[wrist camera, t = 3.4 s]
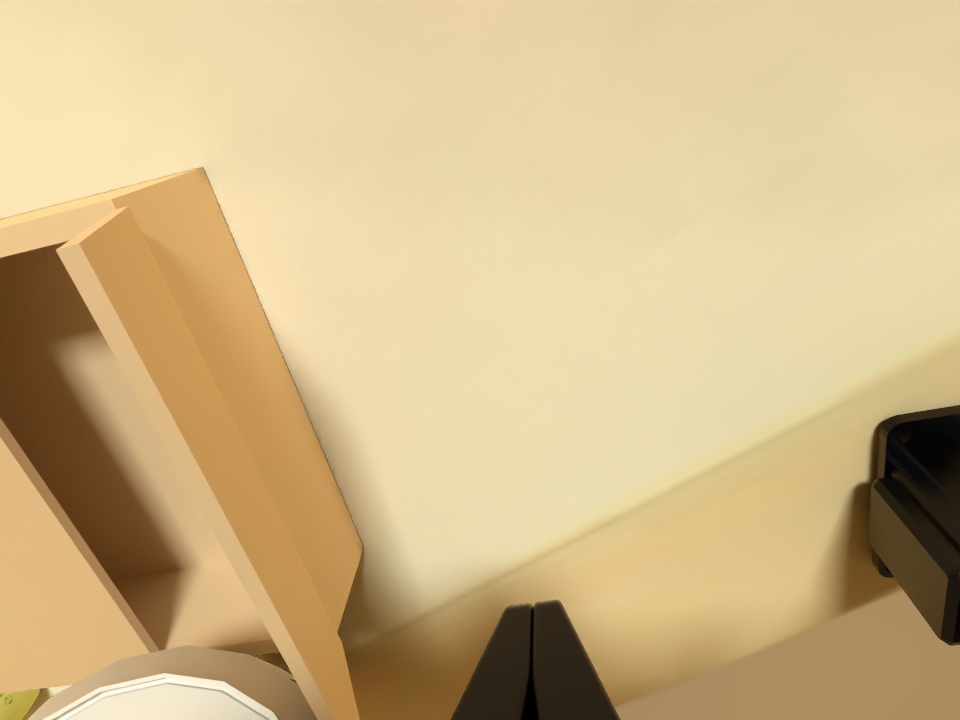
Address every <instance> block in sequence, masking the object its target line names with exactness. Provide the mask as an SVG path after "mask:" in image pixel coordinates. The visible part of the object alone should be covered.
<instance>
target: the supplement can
mask: <svg viewBox="0 0 960 720" xmlns="http://www.w3.org/2000/svg"><path fill="white" fill-rule="evenodd" d="M27 720H317V718H316V716H315V714H314V712H313V711H312V709H311V707H310V705H309V703H308V702H307V700H306V698H305V696H304V694H303V693H302V691H301V689H300V687H299V685H298V684H297V682H296V680H295V678H294V677H293V675H292V673H291V672H290V671H287V670H285V669H282V668H280V667H278V666H275V665H273V664H270V663H268V662H266V661H263V660H261V659H259V658H256V657H254V656H251V655H249V654H243V653H236V652H230V651H223V650H216V649H209V648H203V647H196V646H189V645H185V646H180V647H175V648H171V649H166V650H161V651H157V652H152V653H147V654H142V655H138V656H133V657H128V658H124V659H119V660H117V661H115V662H113V663H111V664H110V665H108V666H106V667H104V668H102V669H101V670H99V671H97V672H95V673H94V674H92V675H90V676H88V677H86V678H85V679H83V680H81V681H79V682H77V683H76V684H74V685H72V686H70V687H69V688H67V689H65V690H63V691H61V692H60V693H58V694H56V695H54V696H52V697H51V698H49V699H48V700H47V701H46V702H45V703H44V704H43V705H42V706H41V707H40V708H39V709H37V710H36V711H35V712H34V713H33V714H32V715H31V716H30V717H29V718H28V719H27Z"/></svg>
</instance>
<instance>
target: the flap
mask: <svg viewBox="0 0 960 720" xmlns="http://www.w3.org/2000/svg"><path fill="white" fill-rule="evenodd" d="M56 252H57V253H58V255H59V257H60V259H61V261H62V262H63V264H64V266H65V268H66V270H67V271H68V273H69V275H70V277H71V278H72V280H73V282H74V284H75V286H76V287H77V289H78V291H79V293H80V295H81V296H82V298H83V300H84V302H85V304H86V305H87V307H88V309H89V311H90V313H91V314H92V316H93V318H94V320H95V322H96V323H97V325H98V327H99V329H100V330H101V332H102V334H103V336H104V338H105V339H106V341H107V343H108V345H109V347H110V348H111V350H112V352H113V354H114V356H115V357H116V359H117V361H118V363H119V365H120V366H121V368H122V370H123V372H124V374H125V375H126V377H127V379H128V381H129V382H130V384H131V386H132V388H133V390H134V391H135V393H136V395H137V397H138V399H139V400H140V402H141V404H142V406H143V408H144V409H145V411H146V413H147V415H148V417H149V418H150V420H151V422H152V424H153V426H154V427H155V429H156V431H157V433H158V434H159V436H160V438H161V440H162V442H163V443H164V445H165V447H166V449H167V451H168V452H169V454H170V456H171V458H172V460H173V461H174V463H175V465H176V467H177V469H178V470H179V472H180V474H181V476H182V477H183V479H184V481H185V483H186V485H187V486H188V488H189V490H190V492H191V494H192V495H193V497H194V499H195V501H196V503H197V504H198V506H199V508H200V510H201V512H202V513H203V515H204V517H205V519H206V521H207V522H208V524H209V526H210V528H211V529H212V531H213V533H214V535H215V537H216V538H217V540H218V542H219V544H220V546H221V547H222V549H223V551H224V553H225V555H226V556H227V558H228V560H229V562H230V564H231V565H232V567H233V569H234V571H235V573H236V574H237V576H238V578H239V580H240V581H241V583H242V585H243V587H244V589H245V590H246V592H247V594H248V596H249V598H250V599H251V601H252V603H253V605H254V607H255V608H256V610H257V612H258V614H259V616H260V617H261V619H262V621H263V623H264V625H265V626H266V628H267V630H268V632H269V633H270V635H271V637H272V639H273V641H274V642H275V644H276V646H277V648H278V650H279V651H280V653H281V655H282V657H283V659H284V660H285V662H286V664H287V666H288V668H289V669H290V671H291V673H292V675H293V677H294V678H295V680H296V682H297V684H298V685H299V687H300V689H301V691H302V693H303V694H304V696H305V698H306V700H307V702H308V703H309V705H310V707H311V709H312V711H313V712H314V714H315V716H316V718H317V720H360V718H359V714H358V709H357V705H356V701H355V696H354V692H353V688H352V683H351V679H350V675H349V670H348V666H347V662H346V657H345V653H344V649H343V644H342V642H341V640H340V638H339V636H338V633H337V631H336V629H335V627H334V625H333V623H332V621H331V619H330V617H329V615H328V613H327V611H326V609H325V607H324V605H323V603H322V601H321V599H320V597H319V595H318V592H317V590H316V588H315V586H314V584H313V582H312V580H311V578H310V576H309V574H308V572H307V570H306V568H305V566H304V564H303V562H302V560H301V558H300V556H299V554H298V551H297V549H296V547H295V545H294V543H293V541H292V539H291V537H290V535H289V533H288V531H287V529H286V527H285V525H284V523H283V521H282V519H281V517H280V515H279V513H278V510H277V508H276V506H275V504H274V502H273V500H272V498H271V496H270V494H269V492H268V490H267V488H266V486H265V484H264V482H263V480H262V478H261V476H260V474H259V472H258V469H257V467H256V465H255V463H254V461H253V459H252V457H251V455H250V453H249V451H248V449H247V447H246V445H245V443H244V441H243V439H242V437H241V435H240V433H239V431H238V428H237V426H236V424H235V422H234V420H233V418H232V416H231V414H230V412H229V410H228V408H227V406H226V404H225V402H224V400H223V398H222V396H221V394H220V392H219V390H218V387H217V385H216V383H215V381H214V379H213V377H212V375H211V373H210V371H209V369H208V367H207V365H206V363H205V361H204V359H203V357H202V355H201V353H200V351H199V349H198V346H197V344H196V342H195V340H194V338H193V336H192V334H191V332H190V330H189V328H188V326H187V324H186V322H185V320H184V318H183V316H182V314H181V312H180V310H179V308H178V305H177V303H176V301H175V299H174V297H173V295H172V293H171V291H170V289H169V287H168V285H167V283H166V281H165V279H164V277H163V275H162V273H161V271H160V269H159V267H158V264H157V262H156V260H155V258H154V256H153V254H152V252H151V250H150V248H149V246H148V244H147V242H146V240H145V238H144V236H143V234H142V232H141V230H140V228H139V226H138V223H137V221H136V219H135V217H134V215H133V213H132V211H131V209H130V207H129V206H127V207H123V208H120V209H116V210H113V211H112V212H110V213H109V214H108V215H106V216H105V217H103V218H102V219H100V220H99V221H97V222H96V223H94V224H93V225H91V226H90V227H89V228H87V229H86V230H84V231H83V232H81V233H80V234H78V235H77V236H75V237H74V238H73V239H71V240H70V241H68V242H67V243H65V244H64V245H62V246H61V247H59V248H58V249H56Z"/></svg>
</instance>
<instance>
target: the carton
mask: <svg viewBox="0 0 960 720" xmlns="http://www.w3.org/2000/svg"><path fill="white" fill-rule="evenodd" d="M127 206H129V207H130V209H131V211H132V213H133V215H134V217H135V219H136V221H137V223H138V226H139V228H140V230H141V232H142V234H143V236H144V238H145V240H146V242H147V244H148V246H149V248H150V250H151V252H152V254H153V256H154V258H155V260H156V262H157V264H158V267H159V269H160V271H161V273H162V275H163V277H164V279H165V281H166V283H167V285H168V287H169V289H170V291H171V293H172V295H173V297H174V299H175V301H176V303H177V305H178V308H179V310H180V312H181V314H182V316H183V318H184V320H185V322H186V324H187V326H188V328H189V330H190V332H191V334H192V336H193V338H194V340H195V342H196V344H197V346H198V349H199V351H200V353H201V355H202V357H203V359H204V361H205V363H206V365H207V367H208V369H209V371H210V373H211V375H212V377H213V379H214V381H215V383H216V385H217V387H218V390H219V392H220V394H221V396H222V398H223V400H224V402H225V404H226V406H227V408H228V410H229V412H230V414H231V416H232V418H233V420H234V422H235V424H236V426H237V428H238V431H239V433H240V435H241V437H242V439H243V441H244V443H245V445H246V447H247V449H248V451H249V453H250V455H251V457H252V459H253V461H254V463H255V465H256V467H257V469H258V472H259V474H260V476H261V478H262V480H263V482H264V484H265V486H266V488H267V490H268V492H269V494H270V496H271V498H272V500H273V502H274V504H275V506H276V508H277V510H278V513H279V515H280V517H281V519H282V521H283V523H284V525H285V527H286V529H287V531H288V533H289V535H290V537H291V539H292V541H293V543H294V545H295V547H296V549H297V551H298V554H299V556H300V558H301V560H302V562H303V564H304V566H305V568H306V570H307V572H308V574H309V576H310V578H311V580H312V582H313V584H314V586H315V588H316V590H317V592H318V595H319V597H320V599H321V601H322V603H323V605H324V607H325V609H326V611H327V613H328V615H329V617H330V619H331V621H332V623H333V625H334V627H335V629H336V631H337V632H338V629H339V625H340V622H341V619H342V616H343V613H344V609H345V606H346V603H347V600H348V596H349V593H350V590H351V587H352V583H353V580H354V577H355V574H356V570H357V567H358V564H359V561H360V558H361V554H362V551H363V548H364V547H363V545H362V542H361V540H360V538H359V535H358V533H357V530H356V528H355V526H354V523H353V521H352V519H351V516H350V514H349V512H348V509H347V507H346V504H345V502H344V500H343V497H342V495H341V493H340V490H339V488H338V486H337V483H336V481H335V478H334V476H333V474H332V471H331V469H330V467H329V464H328V462H327V460H326V457H325V455H324V453H323V450H322V448H321V445H320V443H319V441H318V438H317V436H316V434H315V431H314V429H313V427H312V424H311V422H310V419H309V417H308V415H307V412H306V410H305V408H304V405H303V403H302V401H301V398H300V396H299V393H298V391H297V389H296V386H295V384H294V382H293V379H292V377H291V375H290V372H289V370H288V367H287V365H286V363H285V360H284V358H283V356H282V353H281V351H280V349H279V346H278V344H277V342H276V339H275V337H274V334H273V332H272V330H271V327H270V325H269V323H268V320H267V318H266V316H265V313H264V311H263V308H262V306H261V304H260V301H259V299H258V297H257V294H256V292H255V290H254V287H253V285H252V282H251V280H250V278H249V275H248V273H247V271H246V268H245V266H244V264H243V261H242V259H241V256H240V254H239V252H238V249H237V247H236V245H235V242H234V240H233V238H232V235H231V233H230V231H229V228H228V226H227V223H226V221H225V219H224V216H223V214H222V212H221V209H220V207H219V205H218V202H217V200H216V197H215V195H214V193H213V190H212V188H211V186H210V183H209V181H208V179H207V176H206V174H205V171H204V169H203V167H201V168H197V169H194V170H190V171H186V172H182V173H178V174H174V175H170V176H166V177H163V178H159V179H155V180H151V181H147V182H143V183H139V184H136V185H132V186H128V187H124V188H120V189H116V190H112V191H109V192H105V193H101V194H97V195H93V196H89V197H85V198H82V199H78V200H74V201H70V202H66V203H62V204H58V205H55V206H51V207H47V208H43V209H39V210H35V211H31V212H27V213H24V214H20V215H16V216H12V217H8V218H4V219H0V693H8V692H17V691H25V690H33V689H41V688H50V687H58V686H66V685H74V684H76V683H77V682H79V681H81V680H83V679H85V678H86V677H88V676H90V675H92V674H94V673H95V672H97V671H99V670H101V669H102V668H104V667H106V666H108V665H110V664H111V663H113V662H115V661H117V660H119V659H124V658H128V657H133V656H138V655H142V654H147V653H152V652H157V651H161V650H166V649H171V648H175V647H180V646H185V645H189V646H196V647H203V648H209V649H216V650H223V651H230V652H236V653H243V654H249V655H260V654H268V653H276V652H280V651H279V650H278V648H277V646H276V644H275V642H274V641H273V639H272V637H271V635H270V633H269V632H268V630H267V628H266V626H265V625H264V623H263V621H262V619H261V617H260V616H259V614H258V612H257V610H256V608H255V607H254V605H253V603H252V601H251V599H250V598H249V596H248V594H247V592H246V590H245V589H244V587H243V585H242V583H241V581H240V580H239V578H238V576H237V574H236V573H235V571H234V569H233V567H232V565H231V564H230V562H229V560H228V558H227V556H226V555H225V553H224V551H223V549H222V547H221V546H220V544H219V542H218V540H217V538H216V537H215V535H214V533H213V531H212V529H211V528H210V526H209V524H208V522H207V521H206V519H205V517H204V515H203V513H202V512H201V510H200V508H199V506H198V504H197V503H196V501H195V499H194V497H193V495H192V494H191V492H190V490H189V488H188V486H187V485H186V483H185V481H184V479H183V477H182V476H181V474H180V472H179V470H178V469H177V467H176V465H175V463H174V461H173V460H172V458H171V456H170V454H169V452H168V451H167V449H166V447H165V445H164V443H163V442H162V440H161V438H160V436H159V434H158V433H157V431H156V429H155V427H154V426H153V424H152V422H151V420H150V418H149V417H148V415H147V413H146V411H145V409H144V408H143V406H142V404H141V402H140V400H139V399H138V397H137V395H136V393H135V391H134V390H133V388H132V386H131V384H130V382H129V381H128V379H127V377H126V375H125V374H124V372H123V370H122V368H121V366H120V365H119V363H118V361H117V359H116V357H115V356H114V354H113V352H112V350H111V348H110V347H109V345H108V343H107V341H106V339H105V338H104V336H103V334H102V332H101V330H100V329H99V327H98V325H97V323H96V322H95V320H94V318H93V316H92V314H91V313H90V311H89V309H88V307H87V305H86V304H85V302H84V300H83V298H82V296H81V295H80V293H79V291H78V289H77V287H76V286H75V284H74V282H73V280H72V278H71V277H70V275H69V273H68V271H67V270H66V268H65V266H64V264H63V262H62V261H61V259H60V257H59V255H58V253H57V252H56V249H58V248H59V247H61V246H62V245H64V244H65V243H67V242H68V241H70V240H71V239H73V238H74V237H75V236H77V235H78V234H80V233H81V232H83V231H84V230H86V229H87V228H89V227H90V226H91V225H93V224H94V223H96V222H97V221H99V220H100V219H102V218H103V217H105V216H106V215H108V214H109V213H110V212H112V211H113V210H116V209H120V208H123V207H127Z"/></svg>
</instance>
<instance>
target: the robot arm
mask: <svg viewBox="0 0 960 720" xmlns="http://www.w3.org/2000/svg"><path fill="white" fill-rule="evenodd" d="M902 429H905V430H904V431H903V432H902V433H901V434H899V435H896V433H897V432H899V431H900V430H902ZM868 540H869V543H870V544H871V546H872V547H873V552H872V562H873V565H874V566H875V568H876V569H877V571H878V572H879V573H880V574H881V575H882V576H884V577H892V578H893V577H895V579H896V580H897V582H898V583H899V584H900V586H901V587H902V588H903V590H904V591H905V593H906V594H907V595H908V597H909V598H910V599H911V600H912V602H913V604H914V605H915V606H916V608H917V609H918V610H919V612H920V613H921V614H922V616H923V617H924V618H925V620H926V621H927V623H928V624H929V626H930V627H931V628H932V630H933V631H934V632H935V634H936V635H937V637H938V638H939V639H941V640H942V641H944V642H945V643H947V644H948V645H960V405H958V406H951V407H945V408H939V409H933V410H926V411H920V412H914V413H908V414H901V415H896V416H893V417H890V418H889V419H887V420H886V421H885V422H884V423H883V424H882V425H881V428H880V431H879V447H878V465H877V479H875V481H874V483H873V484H872V486H871V500H870V519H869V538H868ZM451 720H620V718H619V716H618V714H617V712H616V710H615V708H614V706H613V704H612V702H611V700H610V698H609V696H608V694H607V692H606V690H605V688H604V686H603V684H602V682H601V680H600V678H599V676H598V674H597V672H596V670H595V668H594V666H593V664H592V662H591V661H590V659H589V657H588V655H587V653H586V651H585V649H584V647H583V645H582V643H581V641H580V639H579V637H578V635H577V633H576V631H575V629H574V627H573V625H572V623H571V621H570V619H569V617H568V615H567V613H566V611H565V609H564V607H563V605H562V604H561V602H560V601H558V600H551V601H543V602H537V603H535V604H534V607H533V605H532V604H529V603H526V604H518V605H511V606H508V607H507V608H506V609H505V610H504V612H503V614H502V616H501V618H500V620H499V622H498V624H497V626H496V628H495V630H494V632H493V634H492V636H491V638H490V640H489V643H488V645H487V647H486V649H485V651H484V653H483V655H482V657H481V659H480V661H479V663H478V665H477V667H476V669H475V671H474V673H473V675H472V677H471V679H470V681H469V683H468V685H467V688H466V690H465V692H464V694H463V696H462V698H461V700H460V702H459V704H458V706H457V708H456V710H455V712H454V714H453V716H452V718H451Z"/></svg>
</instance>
